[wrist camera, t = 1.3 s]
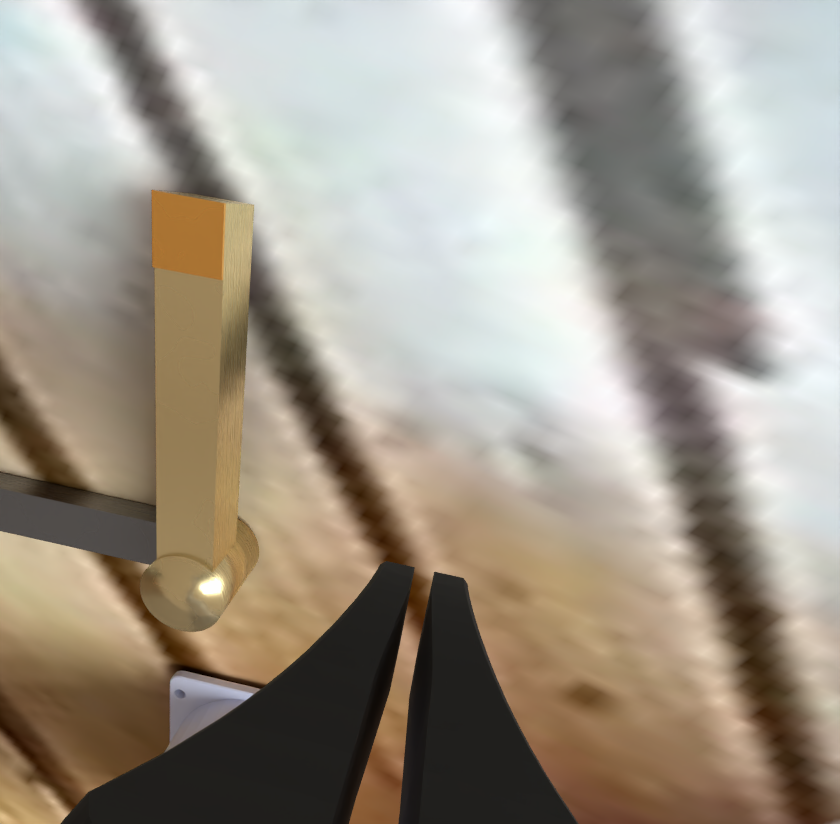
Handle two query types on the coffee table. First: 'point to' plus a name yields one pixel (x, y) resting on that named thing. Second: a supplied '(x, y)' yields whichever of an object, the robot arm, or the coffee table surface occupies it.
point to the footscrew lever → (199, 406)
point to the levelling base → (78, 518)
